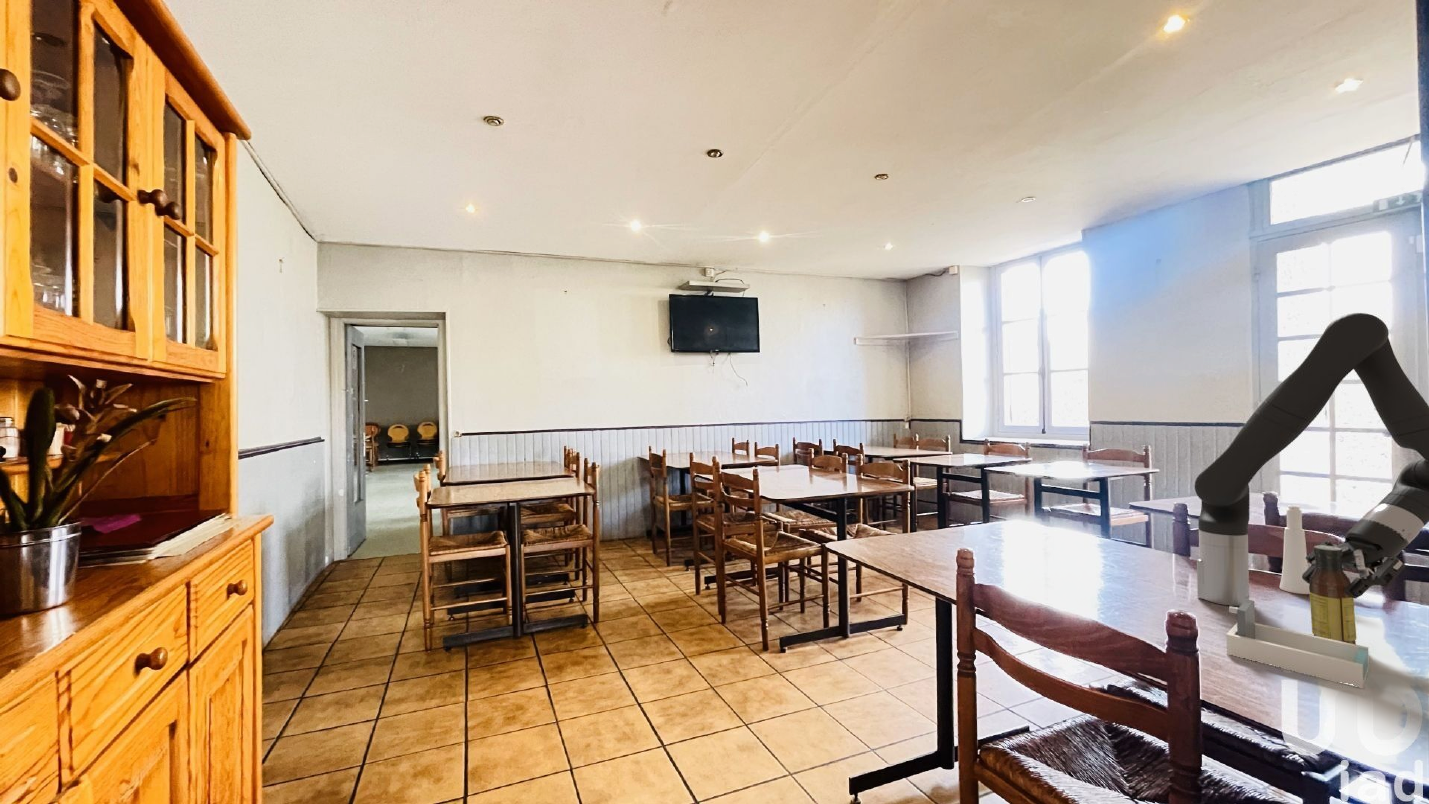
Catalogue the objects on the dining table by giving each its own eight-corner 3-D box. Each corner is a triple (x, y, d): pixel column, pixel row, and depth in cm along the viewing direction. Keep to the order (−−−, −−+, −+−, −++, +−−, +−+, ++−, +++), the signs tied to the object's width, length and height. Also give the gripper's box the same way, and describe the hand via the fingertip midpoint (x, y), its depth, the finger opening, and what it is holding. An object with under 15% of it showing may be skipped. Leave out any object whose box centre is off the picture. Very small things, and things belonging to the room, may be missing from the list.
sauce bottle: (1346, 640, 119) (1343, 545, 119) (1364, 652, 113) (1362, 552, 113) (1303, 635, 122) (1301, 542, 122) (1319, 647, 116) (1317, 549, 116)
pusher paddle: (1225, 645, 116) (1224, 606, 116) (1235, 633, 121) (1234, 597, 121) (1245, 650, 113) (1244, 611, 113) (1255, 638, 118) (1254, 600, 118)
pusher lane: (1226, 654, 114) (1226, 634, 114) (1240, 638, 121) (1239, 619, 121) (1362, 688, 100) (1362, 666, 100) (1368, 668, 107) (1368, 647, 107)
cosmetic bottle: (1286, 592, 147) (1284, 507, 147) (1274, 585, 153) (1272, 503, 153) (1317, 595, 145) (1315, 508, 145) (1305, 588, 150) (1303, 504, 150)
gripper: (1333, 511, 124) (1280, 565, 125) (1411, 526, 110) (1350, 586, 111) (1360, 535, 124) (1306, 589, 125) (1440, 553, 110) (1379, 613, 110)
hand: (1327, 588), depth 118 cm, fingers open, 8 cm apart
